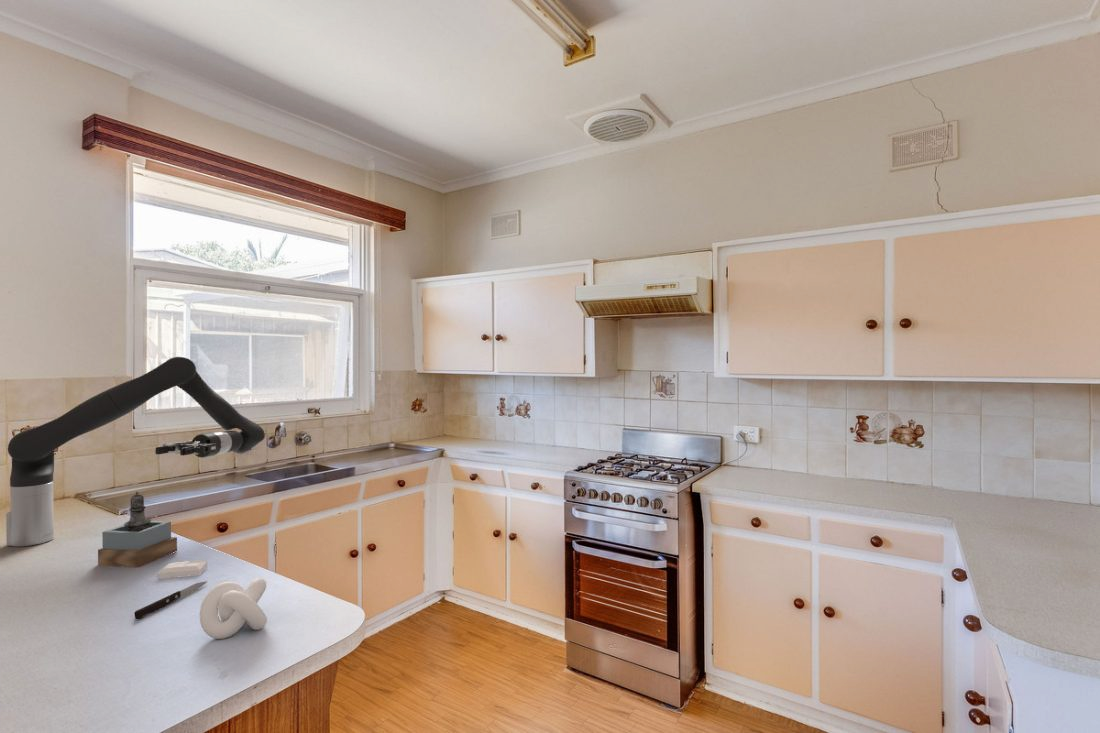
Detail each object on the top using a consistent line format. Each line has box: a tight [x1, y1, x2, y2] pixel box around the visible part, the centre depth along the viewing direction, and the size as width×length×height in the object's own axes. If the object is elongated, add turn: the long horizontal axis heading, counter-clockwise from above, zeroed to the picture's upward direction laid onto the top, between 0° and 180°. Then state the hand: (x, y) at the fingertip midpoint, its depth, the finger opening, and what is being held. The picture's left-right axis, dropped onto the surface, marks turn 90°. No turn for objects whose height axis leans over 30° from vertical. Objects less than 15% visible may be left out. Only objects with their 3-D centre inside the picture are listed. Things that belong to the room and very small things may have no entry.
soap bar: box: [157, 559, 208, 580], centre depth 135 cm, size 5×9×3 cm, turn 104°
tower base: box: [97, 536, 178, 568], centre depth 146 cm, size 12×12×4 cm
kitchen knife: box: [134, 580, 208, 621], centre depth 119 cm, size 18×1×2 cm, turn 169°
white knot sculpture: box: [199, 577, 268, 640], centre depth 107 cm, size 11×12×9 cm
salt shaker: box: [123, 491, 152, 532], centre depth 146 cm, size 6×6×12 cm
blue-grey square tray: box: [101, 520, 172, 550], centre depth 146 cm, size 10×10×4 cm
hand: (168, 451), depth 160 cm, fingers open, 8 cm apart
